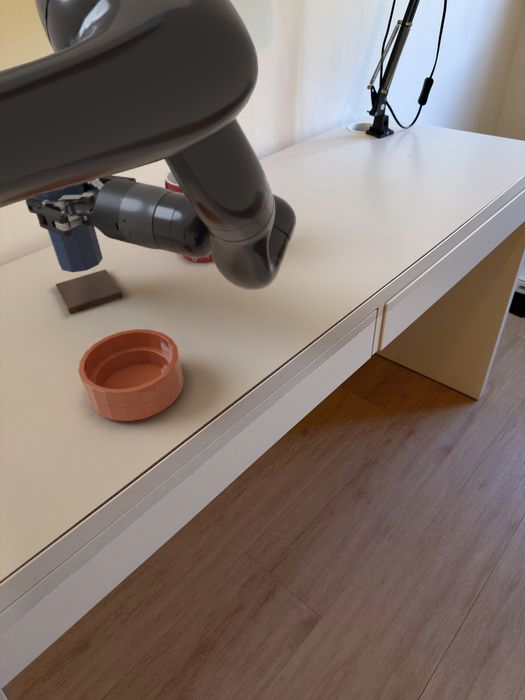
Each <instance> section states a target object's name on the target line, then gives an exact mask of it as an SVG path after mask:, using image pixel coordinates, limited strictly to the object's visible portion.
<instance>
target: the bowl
mask: <svg viewBox="0 0 525 700" xmlns="http://www.w3.org/2000/svg"><path fill="white" fill-rule="evenodd" d="M78 375H79V378H80V380H81V383H82V386H83V389H84V391H85V394H86V397H87V400H88V402H89V404H90V407H91V409H92V410H93V411H95V412H96V413H97V414H99V416H101V417H103V418H106V419H109V420H112V421H119V422H133V421H138V420H145V419H147V418H149V417H152V416H154V415H157V414H159V413H161V412H162V411H164V410H166V409H167V408H169V407H170V406H171V405H173V403H174V402H175V401H176V400H177V398H178V397H179V396H180V395H181V392H182V390H183V388H184V384H185V383H184V382H185V381H184V374H183V370H182V364H181V359H180V353H179V349H178V345H177V344H176V342H175V341H174V340H173V338H172V337H170V336H168V335H166V334H165V333H163V332H160V331H157V330H152V329H142V328H141V329H139V328H138V329H137V328H135V329H129V330H122V331H119V332H116V333H113V334H110V335H107V336H105V337H103V338H102V339H100V340H98V341H97V342H95V343H93V344H92V345H91V346H90V347H89V348H88V349H87V350H86V351H85V352H84V354H83V355H82V357H81V359H80V361H79V366H78Z"/></svg>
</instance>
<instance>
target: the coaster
mask: <svg viewBox="0 0 525 700" xmlns="http://www.w3.org/2000/svg"><path fill="white" fill-rule="evenodd" d="M55 288H56V290H57V293H58V294H59V296H60V298H61V300H62V302H63V304H64V307H66V310H67V312H68V313H69V314H70V315H71V314H74V313H77V312H80V311H84V310H86V309H90V308H93V307H96V306H100V305H102V304H105V303H108V302H111V301H114V300H115V301H116V300H118V299H120V298H121V299H122V298H123V293H122V291H121V289H120V288H119V286H118V285H117V284H116V282H115V280H114V279H113V278H112V276H111V275H110V274H109V272H108V270H107V269H101V270H98V271H95V272H91V273H88V274H85V275H81V276H78V277H75V278H71V279H68V280H64V281H60V282H58V283H55Z"/></svg>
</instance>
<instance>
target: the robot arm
mask: <svg viewBox="0 0 525 700" xmlns="http://www.w3.org/2000/svg"><path fill="white" fill-rule="evenodd" d="M34 2H35V3H34V4H35V8H36V11H37V15H38V17H39V20H40V23H41V25H42V28H43V30H44V33H45V36H46V38H47V41H48V43H49V45H50V47H51V48H52V50H53V52H52V53H50V54H47V55H45V56H42V57H39V58H37V59H34V60H31V61H28V62H25V63H21V64H19V65H15V66H11V67H8V68H5V69H2V70H0V209H1V208H4V207H7V206H10V205H13V204H16V203H19V202H23V201H25V204H26V207H27V209H28V212H29V213H31V214H35V215H36V217H37V220H38V224H39V227H40V228H42V229H45V230H47V231H48V230H50V231H52V232H55V233H57V234H60V235H62V236H65V237H67V236H71V235H72V234H73V232H72V229H71V228H73V227H75V226H77V225H79V224H80V225H82V226H94V228H96V229H97V231H99V232H100V233H101V234H103V235H104V236H105V237H107V238H108V239H112V240H115V241H118V242H119V241H120V242H122V243H127V244H130V245H135V246H138V247H143V248H146V249H151V250H159V251H165V252H169V253H174V254H177V255H181V256H183V255H185V256H189V257H193V258H203V257H206V256H208V255H209V254H210V253H211V254H212V257H213V260H212V261H213V263H214V264H215V267H216V269H217V270H218V272H219V273H220V274H221V275H222V276H223V278H224V279H226V280H227V281H228V282H229V283H231V284H232V285H234V286H236V287H238V288H241V289H243V290H249V291H257V290H262V289H264V288H266V287H269V286H270V285H271V284H272V283H273V282H274V281H275V279H276V278H277V277H278V275H279V272H280V269H281V266H282V264H283V261H284V258H285V256H286V254H287V251H288V248H289V245H290V242H291V240H292V239H293V238H292V237H293V234H294V233H295V229H296V224H297V215H296V212H295V210H294V209H293V207H292V206H291V204H289V202H287V200H285V199H284V198H282V197H281V196H279V195H276V194H274V193H273V191H272V188H271V185H270V182H269V180H268V178H267V175H266V172H265V171H264V168H263V166H262V164H261V162H260V160H259V157H258V156H257V153H256V151H255V150H254V148H253V146H252V144H251V142H250V141H249V138H248V137H247V135H246V134H245V132H244V130H243V128H242V126H241V124H240V123H239V121H238V119H237V117H238V116H239V115H240V114H241V112H242V111H243V110H244V109H245V107H246V106H247V104H248V103H249V101H250V99H251V97H252V95H253V93H254V91H255V89H256V86H257V83H258V78H259V77H258V76H259V60H258V53H257V48H256V46H255V44H254V41H253V39H252V37H251V34H250V32H249V30H248V28H247V25H246V24H245V22H244V20H243V19H242V17H241V15H240V13H239V12H238V10H237V9H236V7H235V5H234V4H233V3H232V1H231V0H34ZM163 160H164V161H165V163H166V165H167V167H168V168H169V171H171V172H172V174H173V176H174V177H175V179H176V181H177V183H178V185H179V187H180V188H181V190H182V192H183V193H178V192H174V191H171V190H168V189H166V188H165V187H163V186H158V185H154V184H149V183H144V182H139V181H137V179H136V178H135V177H128V176H122V175H121V176H120V175H116V174H122V173H124V172H128V171H131V170H134V169H137V168H141V167H145V166H147V165H151V164H155V163H157V162H160V161H163ZM79 184H83V188H84V191H85V193H83V194H82V195H63V196H62V197H61V198H60V199H47V198H43V197H38V196H40V195H43V194H47V193H50V192H54V191H57V190H61V189H64V188H68V187H71V186H75V185H79ZM69 203H72V207H73V210H74V213H75V215H72V213H71V209H70V206H69ZM54 206H58V207H60V209H61V212H59V211H56V210H55V209H54Z"/></svg>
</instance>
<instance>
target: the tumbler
mask: <svg viewBox="0 0 525 700" xmlns="http://www.w3.org/2000/svg"><path fill="white" fill-rule="evenodd" d="M83 193H85V191H84V188H83V184H79V185H75V186H71V187H68V188H64V189H61V190H57V191H54V192H50V193H47V194H43V195H40V196H38V197H43V198H47V199H60V198H61V197H62V196H63V195H82V194H83ZM69 206H70V209H71V213H72V215H75V213H74V210H73V207H72V203H69ZM54 209H55V210H56V211H59V212H61V209H60V207H58V206H54ZM95 228H96V227H95V226H82V225H80V224H79V225H77V226H75V227H73V228H71V229H72V232H73V234H72V235H71V236H67V237H65V236H62V235H60V234H57V233H55V232H52V231H50V230H47V232H48V235H49V238H50V242H51V244H52V247H53V250H54V253H55V257H56V260H57V262H58V266H59V267H60V270H61V271H65V272H68V273H78V272H79V273H80V272H86V271H89V270H90V269H91V270H92V269H93V268H95V267H98V266H99V265H100V264H101V262H102V260H103V253H102V249H101V247H100V243H99V239H98V235H97V232H96V229H95Z"/></svg>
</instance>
